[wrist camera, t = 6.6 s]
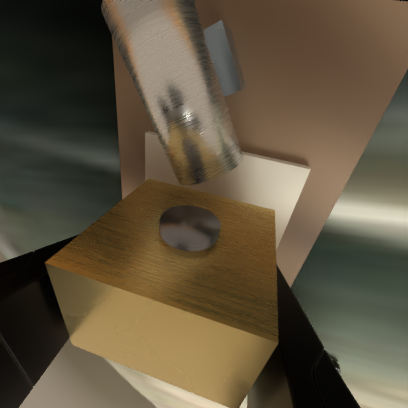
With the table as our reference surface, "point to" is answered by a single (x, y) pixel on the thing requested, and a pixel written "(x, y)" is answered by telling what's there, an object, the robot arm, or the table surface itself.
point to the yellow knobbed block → (175, 289)
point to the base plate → (287, 107)
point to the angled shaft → (181, 81)
